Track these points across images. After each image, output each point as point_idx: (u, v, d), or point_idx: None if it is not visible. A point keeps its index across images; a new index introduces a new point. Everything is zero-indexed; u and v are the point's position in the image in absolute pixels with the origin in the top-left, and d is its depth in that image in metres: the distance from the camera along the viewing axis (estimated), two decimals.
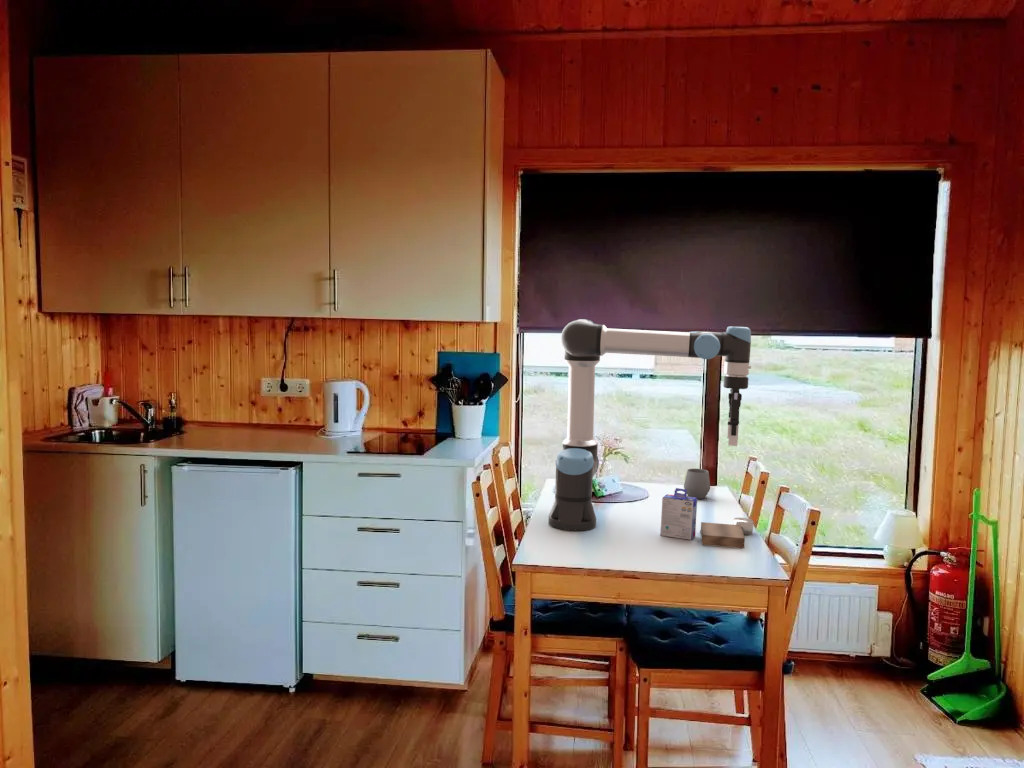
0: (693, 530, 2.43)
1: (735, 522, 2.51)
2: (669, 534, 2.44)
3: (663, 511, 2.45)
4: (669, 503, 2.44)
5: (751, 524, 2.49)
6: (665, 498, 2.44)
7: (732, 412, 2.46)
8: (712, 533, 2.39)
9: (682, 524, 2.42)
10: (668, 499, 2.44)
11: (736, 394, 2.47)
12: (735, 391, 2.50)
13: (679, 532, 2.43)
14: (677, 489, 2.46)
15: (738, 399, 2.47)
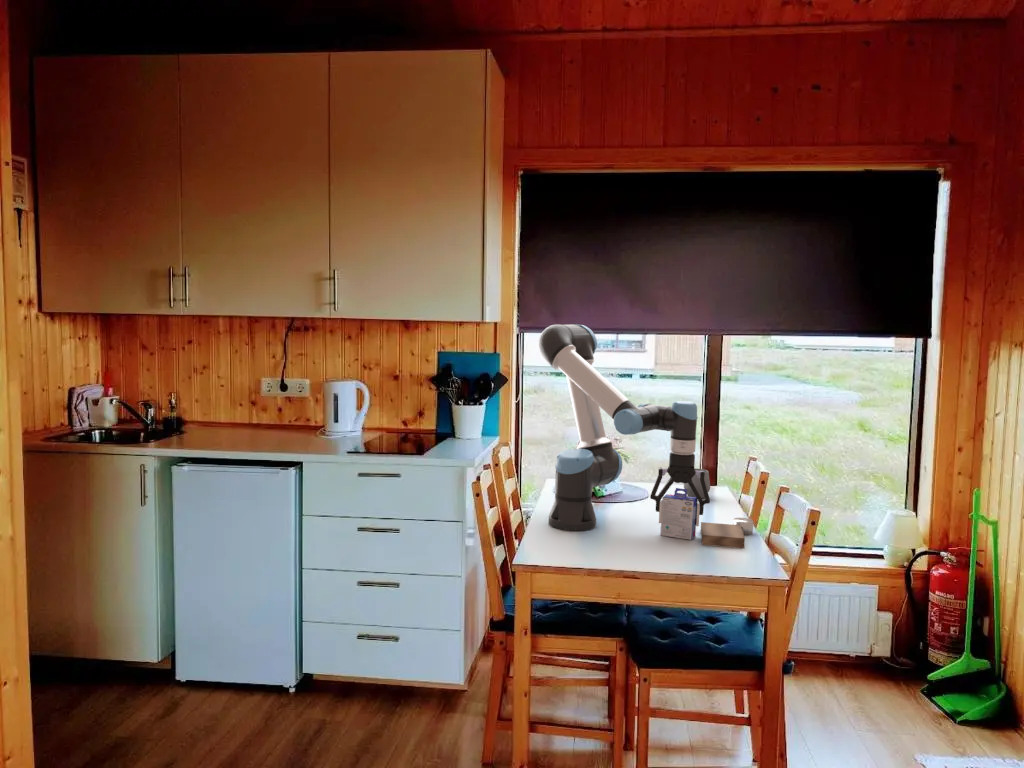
0: (693, 530, 2.43)
1: (735, 522, 2.51)
2: (669, 534, 2.44)
3: (663, 511, 2.45)
4: (669, 503, 2.44)
5: (751, 524, 2.49)
6: (665, 498, 2.44)
7: None
8: (712, 533, 2.39)
9: (682, 524, 2.42)
10: (668, 499, 2.44)
11: None
12: None
13: (680, 532, 2.43)
14: (677, 489, 2.46)
15: (658, 475, 2.44)
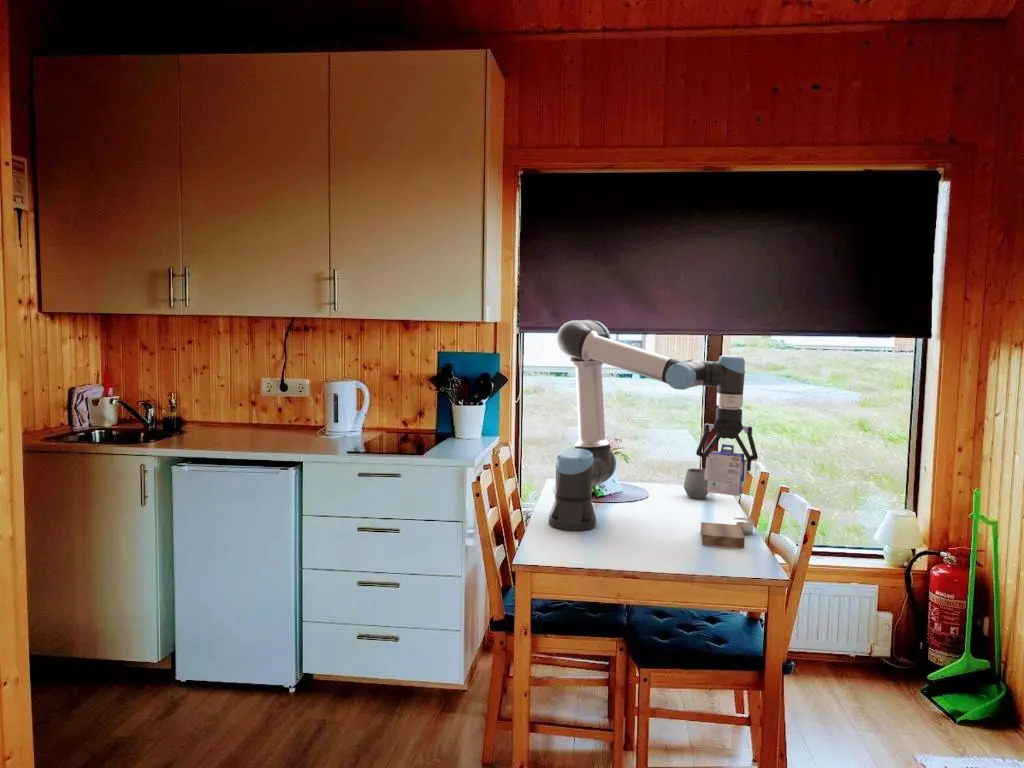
0: (740, 486, 2.39)
1: (735, 522, 2.51)
2: (715, 491, 2.40)
3: (709, 467, 2.41)
4: (716, 459, 2.40)
5: (751, 524, 2.49)
6: (712, 454, 2.40)
7: (699, 443, 2.43)
8: (712, 533, 2.39)
9: (729, 481, 2.38)
10: (715, 455, 2.40)
11: None
12: (715, 422, 2.40)
13: (727, 488, 2.39)
14: (724, 445, 2.42)
15: None
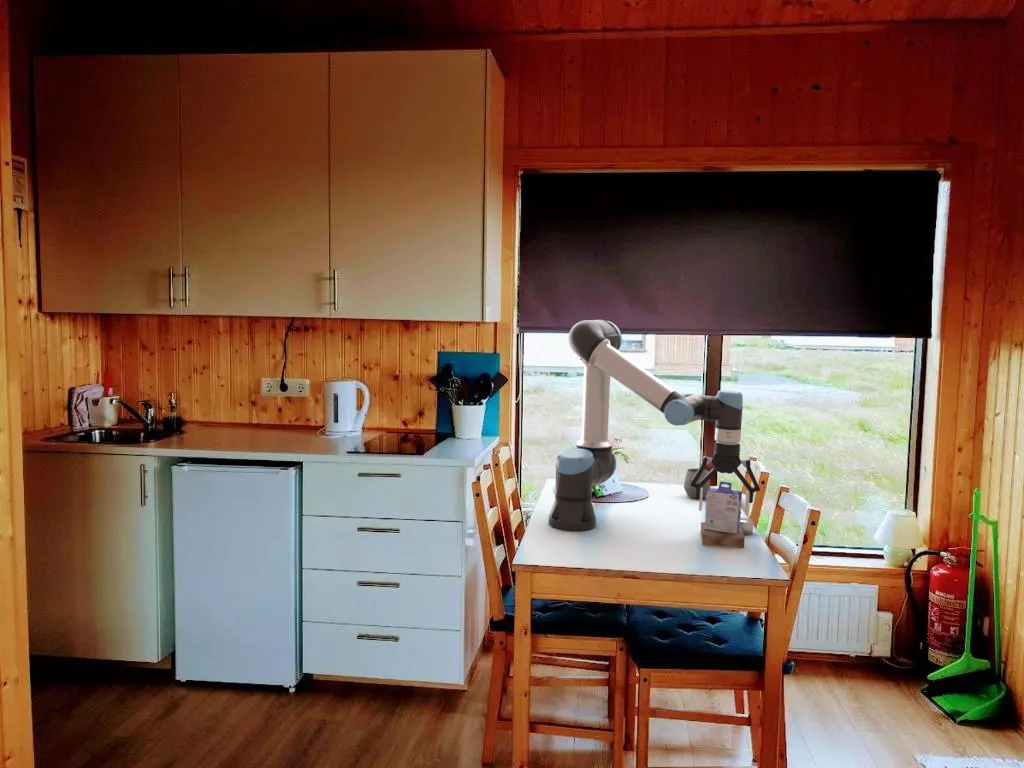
0: (738, 524, 2.40)
1: None
2: (713, 528, 2.42)
3: (707, 505, 2.42)
4: (713, 497, 2.41)
5: (751, 524, 2.49)
6: (710, 491, 2.41)
7: (695, 474, 2.44)
8: (712, 533, 2.39)
9: (727, 518, 2.40)
10: (713, 492, 2.41)
11: (703, 458, 2.42)
12: (713, 456, 2.42)
13: (724, 526, 2.40)
14: (721, 482, 2.43)
15: (702, 463, 2.42)
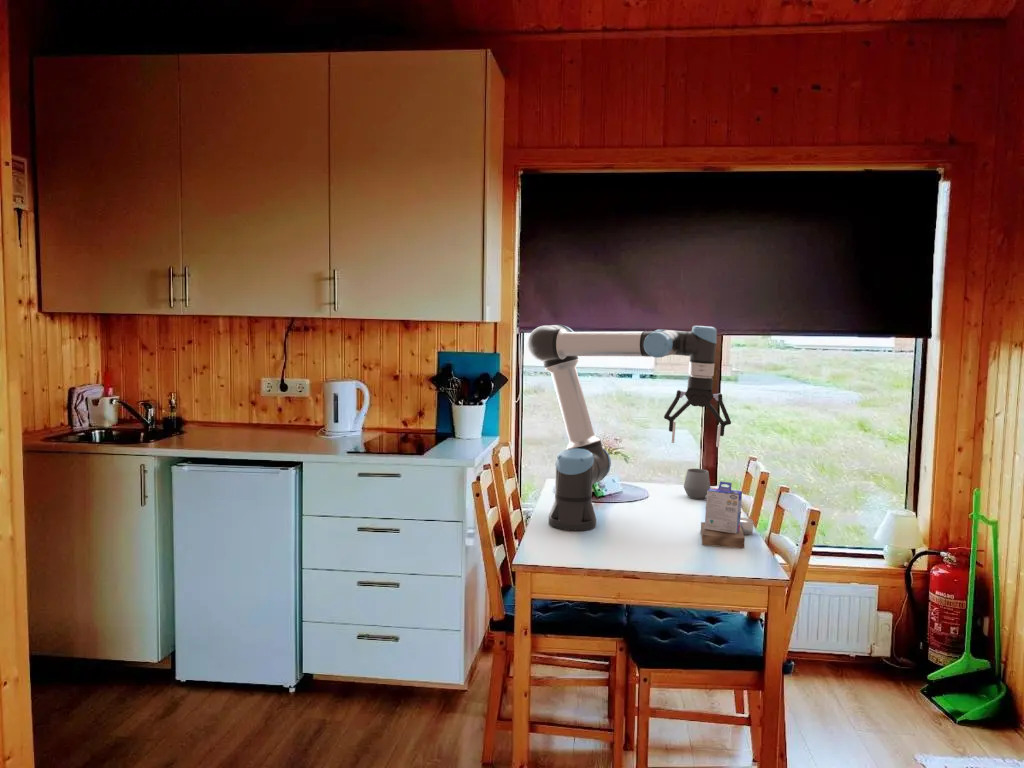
0: (738, 524, 2.40)
1: None
2: (713, 528, 2.42)
3: (707, 505, 2.42)
4: (713, 497, 2.41)
5: (751, 524, 2.49)
6: (710, 491, 2.41)
7: None
8: (712, 533, 2.39)
9: (727, 518, 2.40)
10: (713, 492, 2.41)
11: None
12: (687, 390, 2.48)
13: (724, 526, 2.40)
14: (721, 482, 2.43)
15: (676, 396, 2.48)
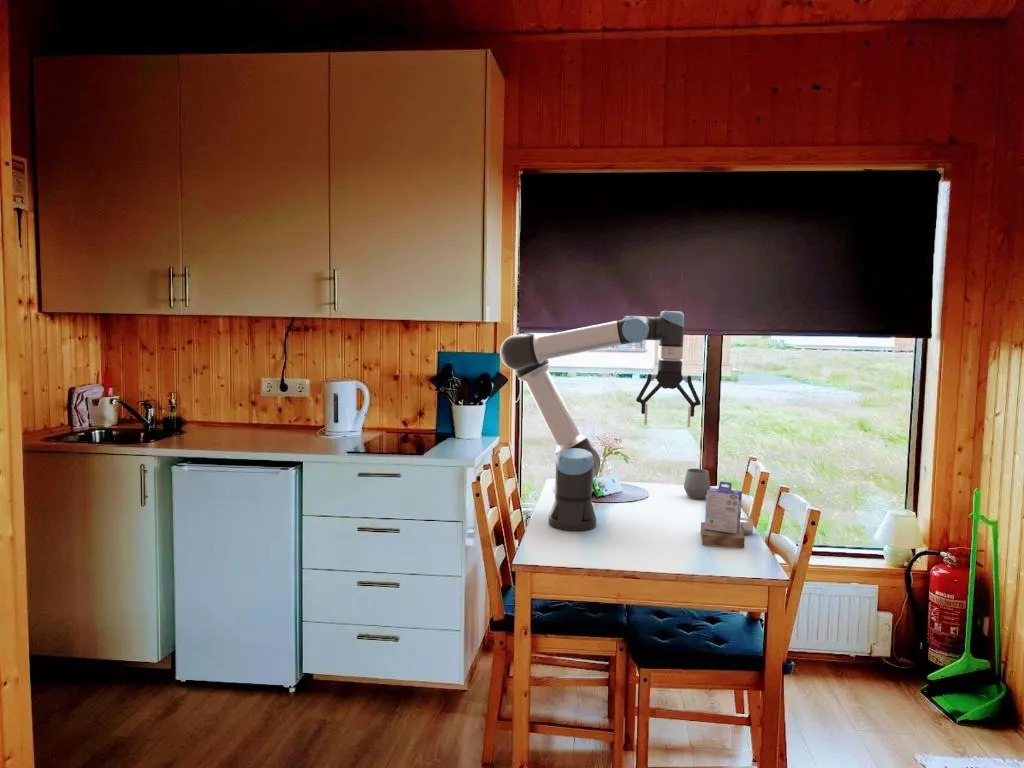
0: (738, 524, 2.40)
1: None
2: (713, 528, 2.42)
3: (707, 505, 2.42)
4: (713, 497, 2.41)
5: (751, 524, 2.49)
6: (710, 491, 2.41)
7: None
8: (712, 533, 2.39)
9: (727, 518, 2.40)
10: (713, 492, 2.41)
11: None
12: None
13: (724, 526, 2.40)
14: (721, 482, 2.43)
15: (647, 379, 2.57)
